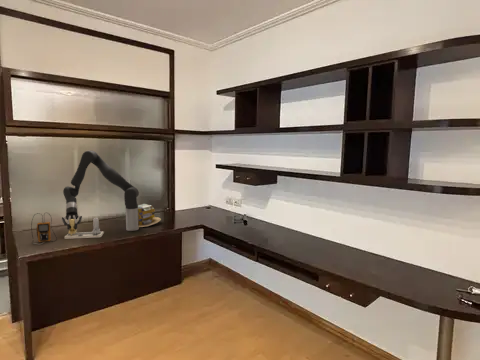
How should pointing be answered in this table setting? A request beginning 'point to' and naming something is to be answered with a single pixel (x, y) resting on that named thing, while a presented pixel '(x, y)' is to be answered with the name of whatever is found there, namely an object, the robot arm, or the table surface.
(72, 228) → the brass leg
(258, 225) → the table surface
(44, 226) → the multimeter
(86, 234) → the white stand
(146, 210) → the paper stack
